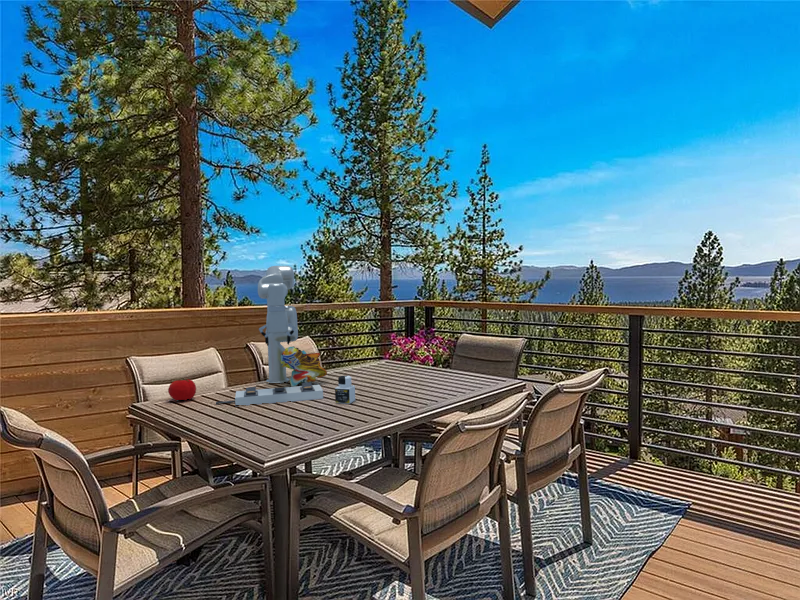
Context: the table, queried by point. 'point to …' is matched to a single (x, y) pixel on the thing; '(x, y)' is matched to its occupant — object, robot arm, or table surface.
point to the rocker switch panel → (277, 395)
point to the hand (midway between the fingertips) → (278, 344)
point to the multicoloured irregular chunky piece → (302, 365)
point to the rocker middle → (279, 389)
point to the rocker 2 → (307, 386)
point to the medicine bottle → (344, 390)
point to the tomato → (182, 389)
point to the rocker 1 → (250, 390)
